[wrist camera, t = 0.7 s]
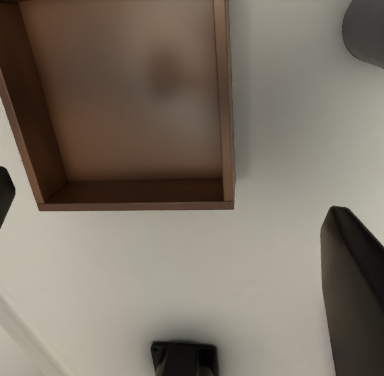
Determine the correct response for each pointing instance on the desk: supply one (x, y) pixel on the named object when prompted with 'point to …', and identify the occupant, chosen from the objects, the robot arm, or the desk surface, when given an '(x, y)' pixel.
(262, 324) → the desk surface
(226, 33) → the desk bin
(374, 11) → the can
